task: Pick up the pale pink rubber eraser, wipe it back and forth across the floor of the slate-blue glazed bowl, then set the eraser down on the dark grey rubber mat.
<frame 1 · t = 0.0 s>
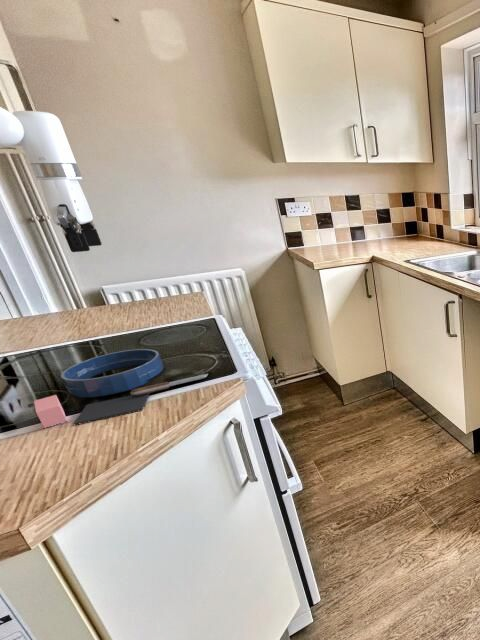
hand: (87, 248, 102), 26 cm above the worktop, tool pointing down, fingers open, 9 cm apart
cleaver: (172, 386, 91), on the worktop, touching mat
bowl: (120, 381, 94), on the worktop
mat: (114, 408, 83), on the worktop
eraser: (54, 419, 79), on the worktop
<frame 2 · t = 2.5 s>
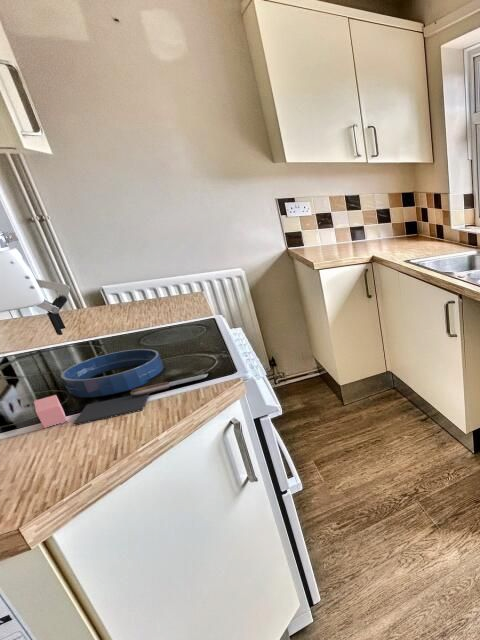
hand: (21, 341, 74), 15 cm above the worktop, tool pointing down, fingers open, 9 cm apart
nothing on the worktop moved.
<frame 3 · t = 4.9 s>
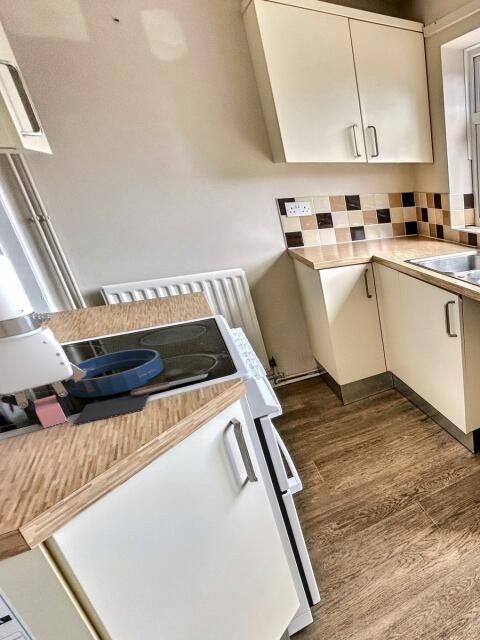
hand: (53, 417, 79), 0 cm above the worktop, tool pointing down, fingers closed on eraser, 3 cm apart
eraser: (54, 419, 79), on the worktop, touching gripper
everything else where it was.
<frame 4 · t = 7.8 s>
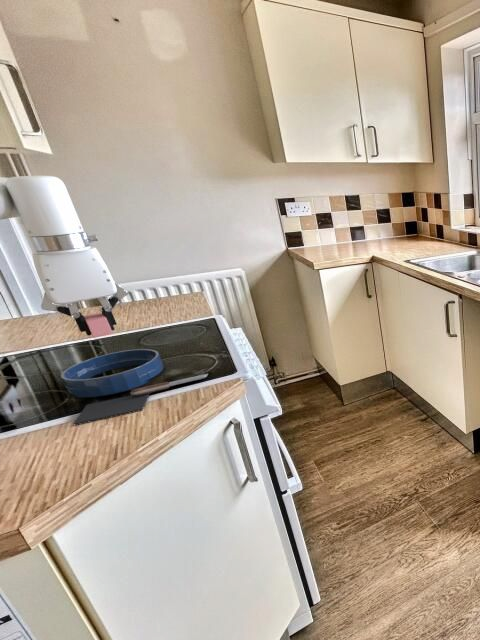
hand: (100, 330, 89), 12 cm above the worktop, tool pointing down, fingers closed on eraser, 3 cm apart
eraser: (101, 332, 89), point 12 cm above the worktop, touching gripper
everything else where it was.
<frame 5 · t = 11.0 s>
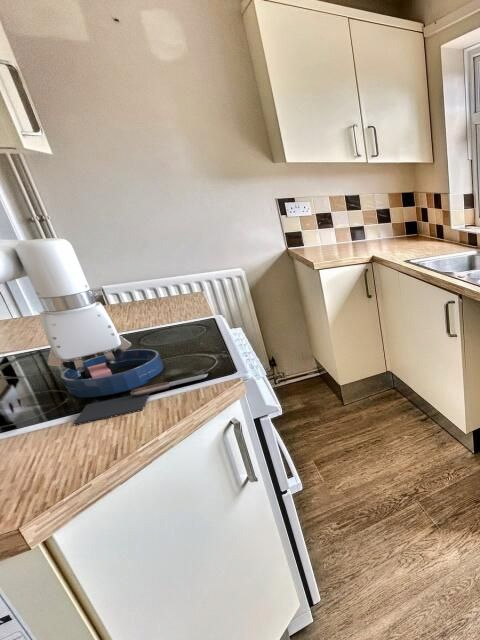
hand: (104, 382, 91), 1 cm above the worktop, tool pointing down, fingers closed on eraser, 3 cm apart
eraser: (104, 383, 92), point 1 cm above the worktop, touching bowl, gripper
everything else where it was.
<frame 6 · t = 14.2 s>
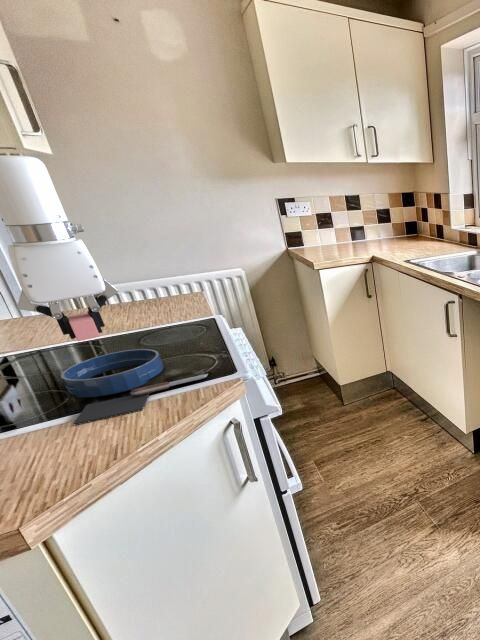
hand: (85, 333, 79), 15 cm above the worktop, tool pointing down, fingers closed on eraser, 3 cm apart
eraser: (86, 335, 79), point 15 cm above the worktop, touching gripper
everything else where it was.
when the fingers open (1 cm above the worktop, at t = 17.4 s): eraser stays where it is, resting on mat.
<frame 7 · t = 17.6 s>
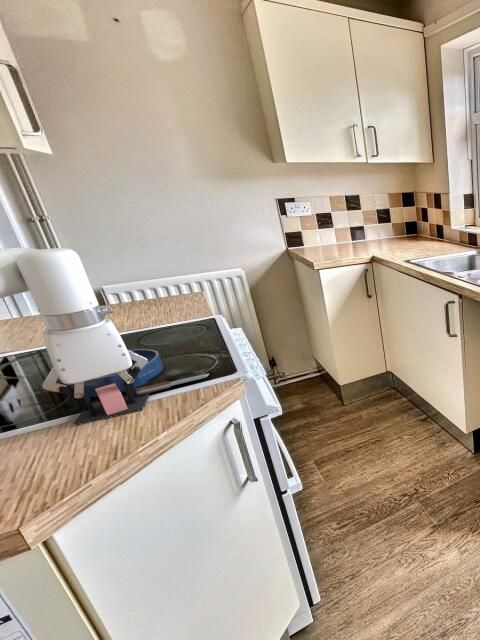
hand: (112, 405, 82), 1 cm above the worktop, tool pointing down, fingers open, 5 cm apart
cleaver: (173, 385, 91), on the worktop, touching gripper
eraser: (114, 406, 83), resting on mat
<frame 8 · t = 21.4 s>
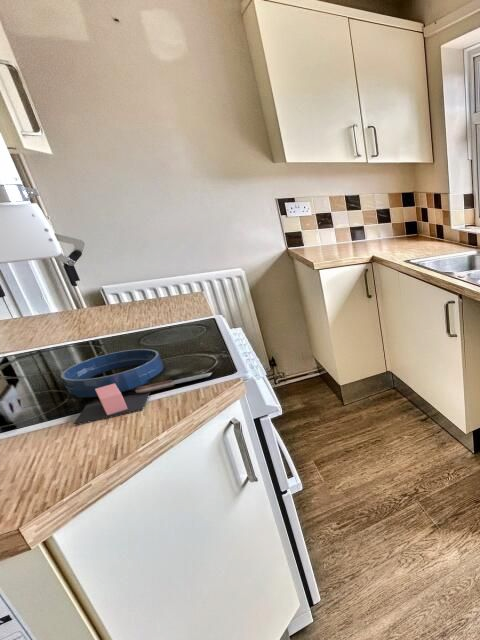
hand: (39, 290, 81), 22 cm above the worktop, tool pointing down, fingers open, 9 cm apart
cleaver: (177, 384, 92), on the worktop, touching mat
everything else where it was.
at the end: eraser inside the target area on the mat (0.1 cm from its centre), point 0.4 cm above the mat's base; the gripper is holding nothing; eraser tilted 0° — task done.
